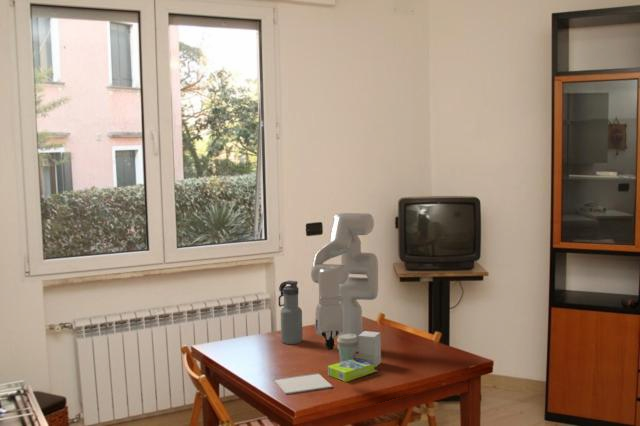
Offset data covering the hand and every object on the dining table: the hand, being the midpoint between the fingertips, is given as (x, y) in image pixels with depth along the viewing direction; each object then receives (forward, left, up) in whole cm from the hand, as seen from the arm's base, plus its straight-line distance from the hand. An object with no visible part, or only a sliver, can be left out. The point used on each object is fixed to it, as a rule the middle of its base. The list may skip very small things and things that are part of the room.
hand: (329, 348), depth 246 cm
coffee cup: (-13, -14, -12) cm, 23 cm away
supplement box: (-22, -12, -12) cm, 28 cm away
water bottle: (-2, -55, -12) cm, 57 cm away
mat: (+11, 0, -12) cm, 16 cm away
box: (-2, 0, -10) cm, 11 cm away
